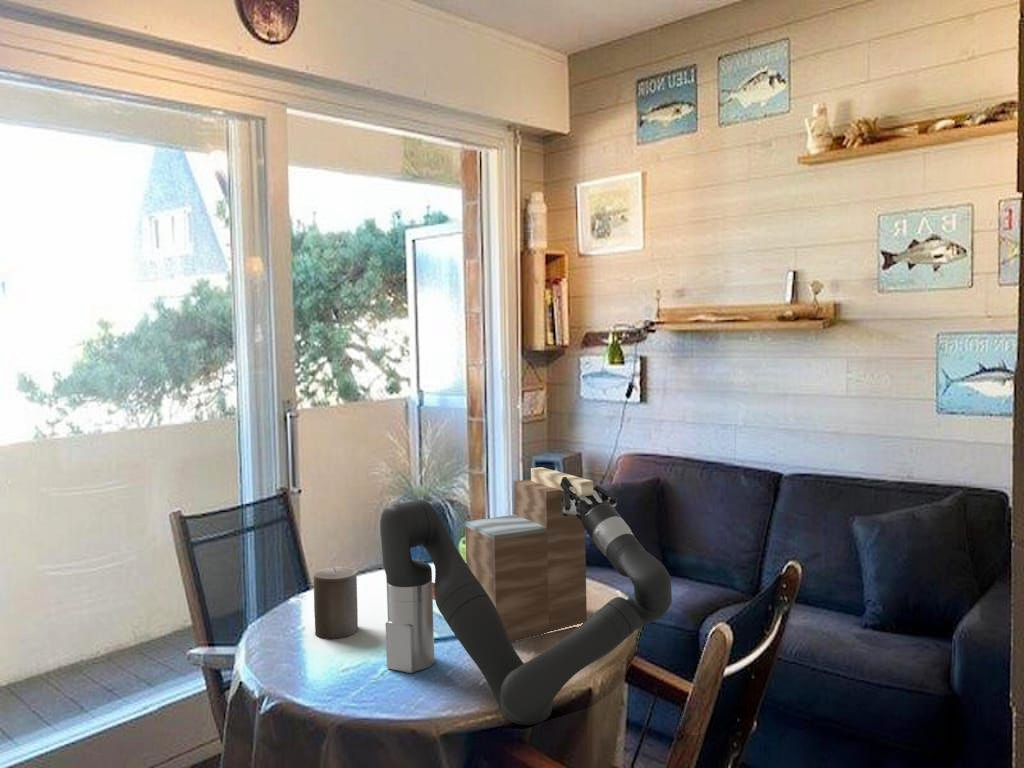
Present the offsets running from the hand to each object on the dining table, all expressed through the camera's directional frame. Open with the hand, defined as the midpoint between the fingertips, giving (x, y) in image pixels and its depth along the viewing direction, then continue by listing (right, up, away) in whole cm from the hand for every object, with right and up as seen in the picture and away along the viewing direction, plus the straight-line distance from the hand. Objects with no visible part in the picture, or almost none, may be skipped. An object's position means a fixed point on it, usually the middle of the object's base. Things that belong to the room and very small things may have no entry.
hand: (570, 479), depth 179 cm
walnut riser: (-9, -34, +8) cm, 36 cm away
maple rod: (-2, -2, +4) cm, 5 cm away
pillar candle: (-53, -36, +6) cm, 64 cm away
